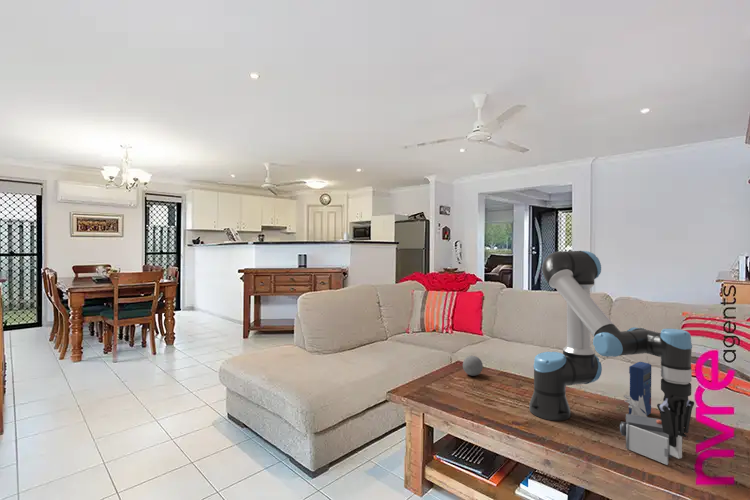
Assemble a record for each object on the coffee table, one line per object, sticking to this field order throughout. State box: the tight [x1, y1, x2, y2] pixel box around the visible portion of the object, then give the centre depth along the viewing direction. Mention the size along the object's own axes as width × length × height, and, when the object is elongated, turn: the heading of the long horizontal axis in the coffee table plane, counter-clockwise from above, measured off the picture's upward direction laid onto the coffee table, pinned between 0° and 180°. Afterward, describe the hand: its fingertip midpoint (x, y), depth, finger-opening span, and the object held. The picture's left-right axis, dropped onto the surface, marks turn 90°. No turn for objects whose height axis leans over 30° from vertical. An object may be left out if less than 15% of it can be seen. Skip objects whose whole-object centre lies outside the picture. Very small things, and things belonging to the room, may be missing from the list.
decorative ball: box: [462, 355, 484, 377], centre depth 203 cm, size 10×10×10 cm
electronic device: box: [628, 361, 652, 417], centre depth 156 cm, size 10×5×20 cm, turn 127°
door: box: [625, 424, 669, 466], centre depth 126 cm, size 12×2×8 cm, turn 33°
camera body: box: [619, 413, 674, 458], centre depth 132 cm, size 14×7×10 cm, turn 63°
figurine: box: [623, 394, 648, 417], centre depth 148 cm, size 11×8×12 cm
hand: (675, 455), depth 123 cm, fingers closed
